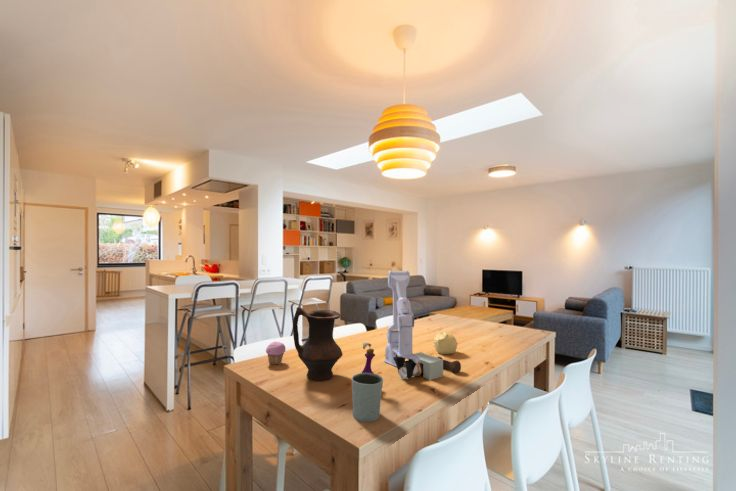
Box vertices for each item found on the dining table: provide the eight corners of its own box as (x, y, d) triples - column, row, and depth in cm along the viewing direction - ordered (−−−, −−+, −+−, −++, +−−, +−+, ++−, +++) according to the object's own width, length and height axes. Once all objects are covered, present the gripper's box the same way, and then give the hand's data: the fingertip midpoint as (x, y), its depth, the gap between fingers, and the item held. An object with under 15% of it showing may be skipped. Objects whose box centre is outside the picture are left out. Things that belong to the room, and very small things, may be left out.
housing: (408, 371, 149) (408, 355, 149) (420, 367, 154) (421, 352, 154) (430, 380, 138) (430, 363, 138) (443, 376, 143) (443, 359, 143)
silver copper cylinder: (397, 377, 140) (398, 364, 140) (421, 370, 148) (421, 358, 149) (407, 382, 136) (407, 368, 136) (430, 374, 144) (431, 361, 144)
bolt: (432, 367, 159) (458, 375, 147) (426, 364, 156) (452, 372, 145) (436, 355, 161) (462, 363, 149) (430, 352, 158) (456, 359, 147)
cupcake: (273, 359, 163) (273, 338, 163) (289, 361, 160) (289, 340, 160) (262, 365, 154) (262, 343, 154) (278, 367, 151) (278, 345, 152)
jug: (335, 366, 153) (336, 301, 154) (347, 381, 136) (348, 307, 137) (288, 372, 146) (289, 303, 146) (295, 388, 129) (296, 310, 129)
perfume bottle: (365, 384, 133) (366, 339, 134) (380, 389, 129) (381, 342, 129) (353, 390, 128) (353, 342, 128) (368, 395, 123) (368, 346, 123)
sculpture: (432, 349, 182) (432, 329, 183) (454, 349, 182) (454, 330, 182) (435, 355, 171) (435, 334, 171) (459, 356, 171) (459, 335, 171)
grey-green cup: (347, 410, 111) (347, 374, 111) (375, 406, 115) (375, 370, 115) (357, 425, 102) (357, 386, 102) (387, 420, 105) (388, 381, 105)
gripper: (386, 340, 142) (386, 372, 142) (410, 348, 131) (410, 383, 131) (399, 337, 147) (398, 369, 146) (423, 345, 135) (423, 379, 135)
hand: (405, 375), depth 139 cm, fingers closed on silver copper cylinder, 5 cm apart
